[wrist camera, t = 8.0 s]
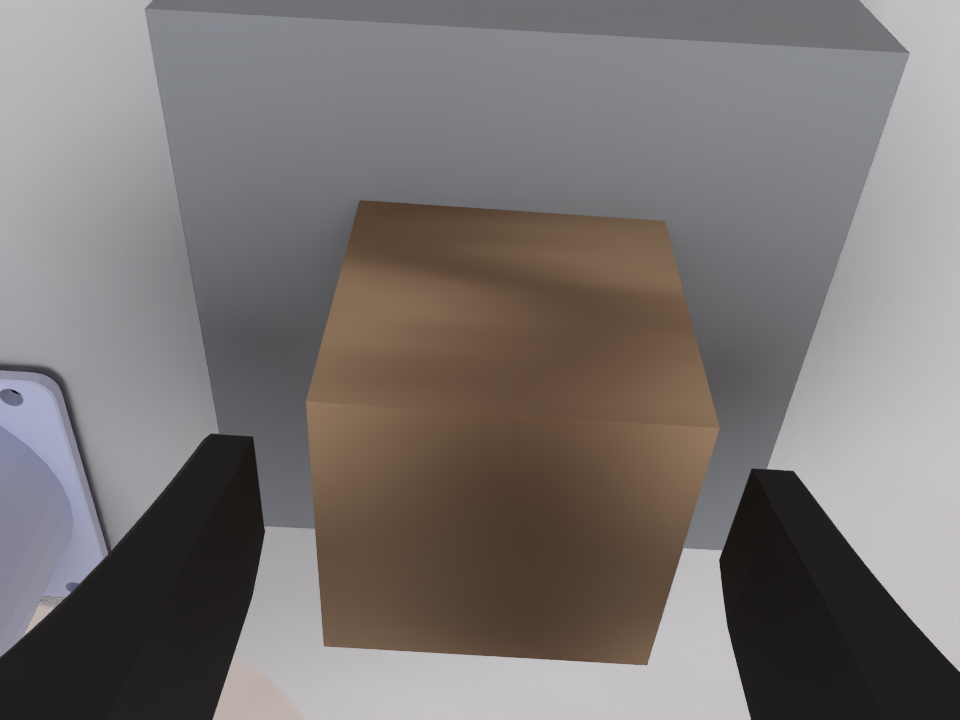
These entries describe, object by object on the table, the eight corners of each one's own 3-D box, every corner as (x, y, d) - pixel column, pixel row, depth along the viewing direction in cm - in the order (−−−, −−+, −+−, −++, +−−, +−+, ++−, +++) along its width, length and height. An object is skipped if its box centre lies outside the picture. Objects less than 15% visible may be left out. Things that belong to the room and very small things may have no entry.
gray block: (268, 416, 23) (235, 524, 20) (208, -56, 16) (145, 8, 13) (710, 440, 23) (738, 550, 20) (840, -19, 16) (909, 53, 13)
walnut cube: (364, 426, 18) (324, 645, 14) (359, 200, 15) (305, 401, 11) (617, 442, 18) (647, 665, 14) (664, 220, 15) (719, 428, 11)
